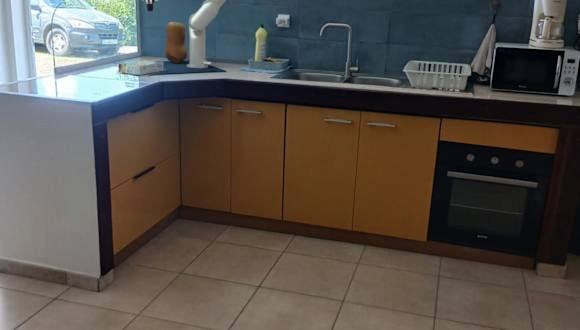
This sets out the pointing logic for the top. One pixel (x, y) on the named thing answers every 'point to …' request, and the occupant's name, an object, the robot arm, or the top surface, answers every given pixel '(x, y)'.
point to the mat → (146, 74)
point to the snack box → (141, 67)
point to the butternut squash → (175, 42)
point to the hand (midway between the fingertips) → (150, 11)
